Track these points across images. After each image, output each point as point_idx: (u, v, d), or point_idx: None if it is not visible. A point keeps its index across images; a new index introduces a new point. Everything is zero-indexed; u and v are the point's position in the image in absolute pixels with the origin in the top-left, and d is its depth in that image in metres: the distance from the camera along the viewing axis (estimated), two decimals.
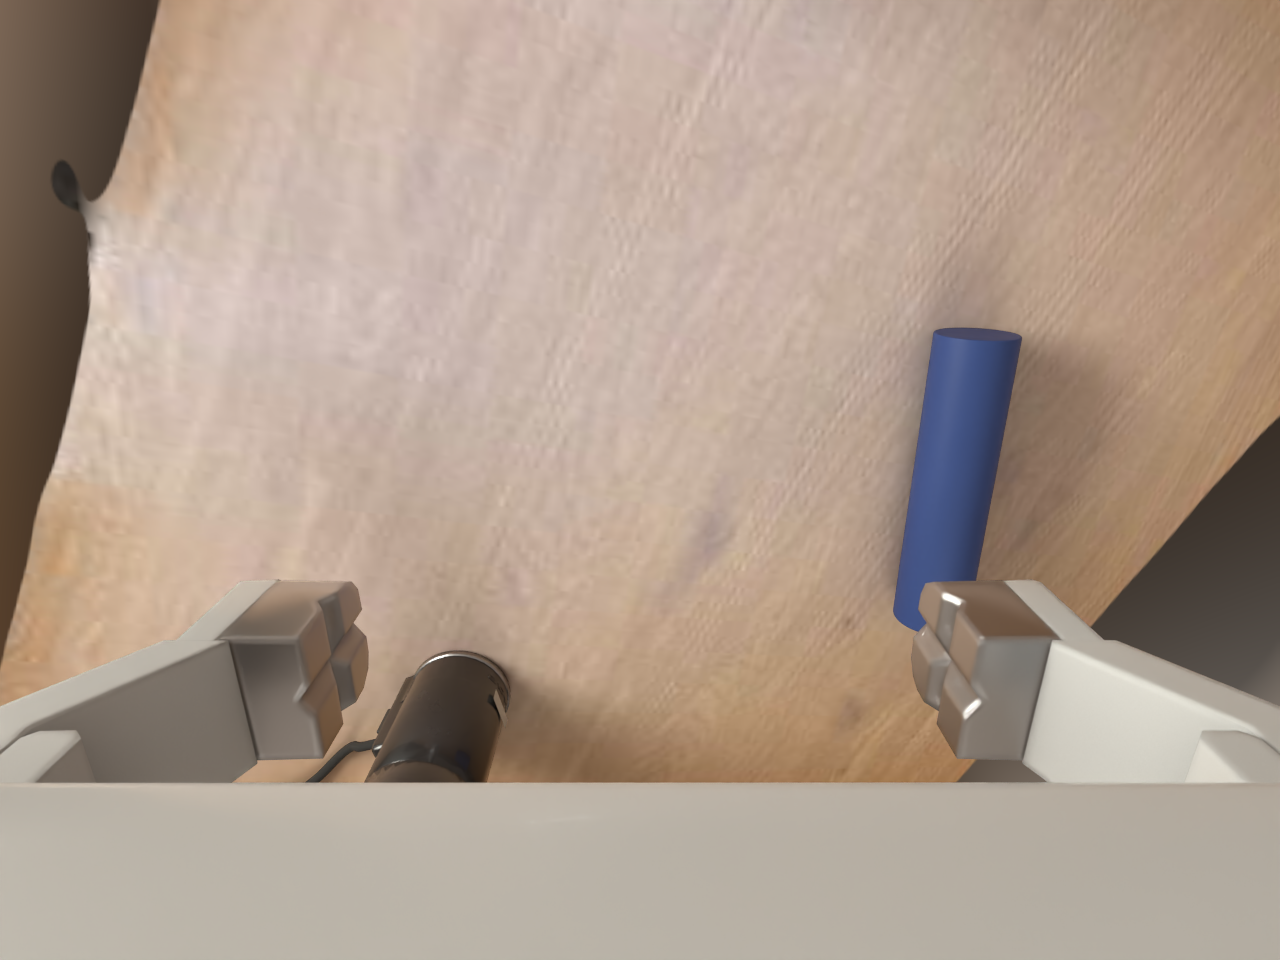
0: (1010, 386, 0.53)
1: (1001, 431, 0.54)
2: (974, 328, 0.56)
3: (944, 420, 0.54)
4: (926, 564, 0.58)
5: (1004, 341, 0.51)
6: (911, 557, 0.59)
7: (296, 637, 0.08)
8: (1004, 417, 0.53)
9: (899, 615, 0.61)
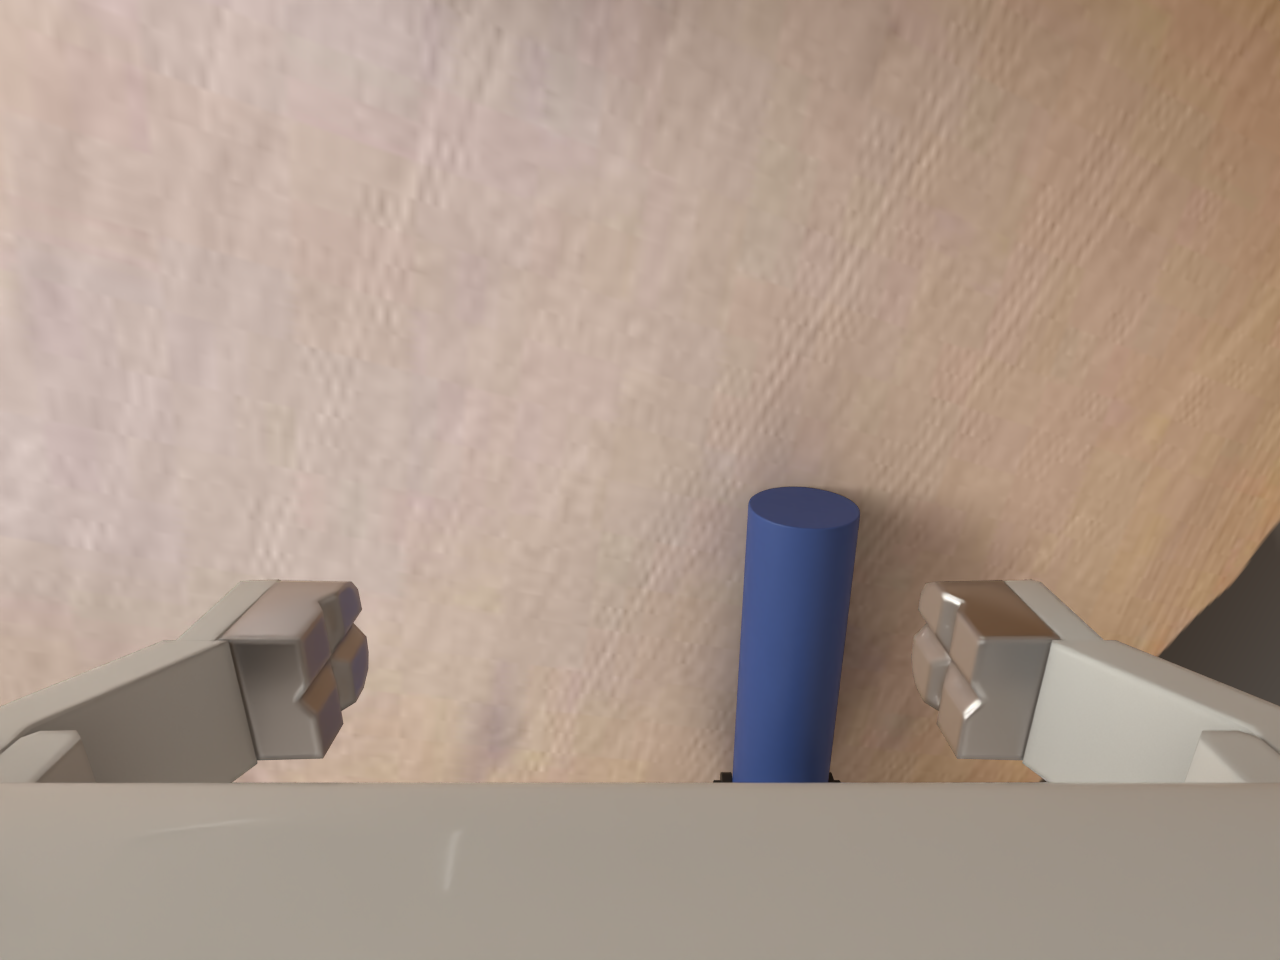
0: (845, 580, 0.39)
1: (838, 635, 0.40)
2: (810, 489, 0.42)
3: (761, 621, 0.40)
4: None
5: (828, 529, 0.37)
6: (739, 777, 0.45)
7: (295, 638, 0.08)
8: (841, 619, 0.40)
9: None
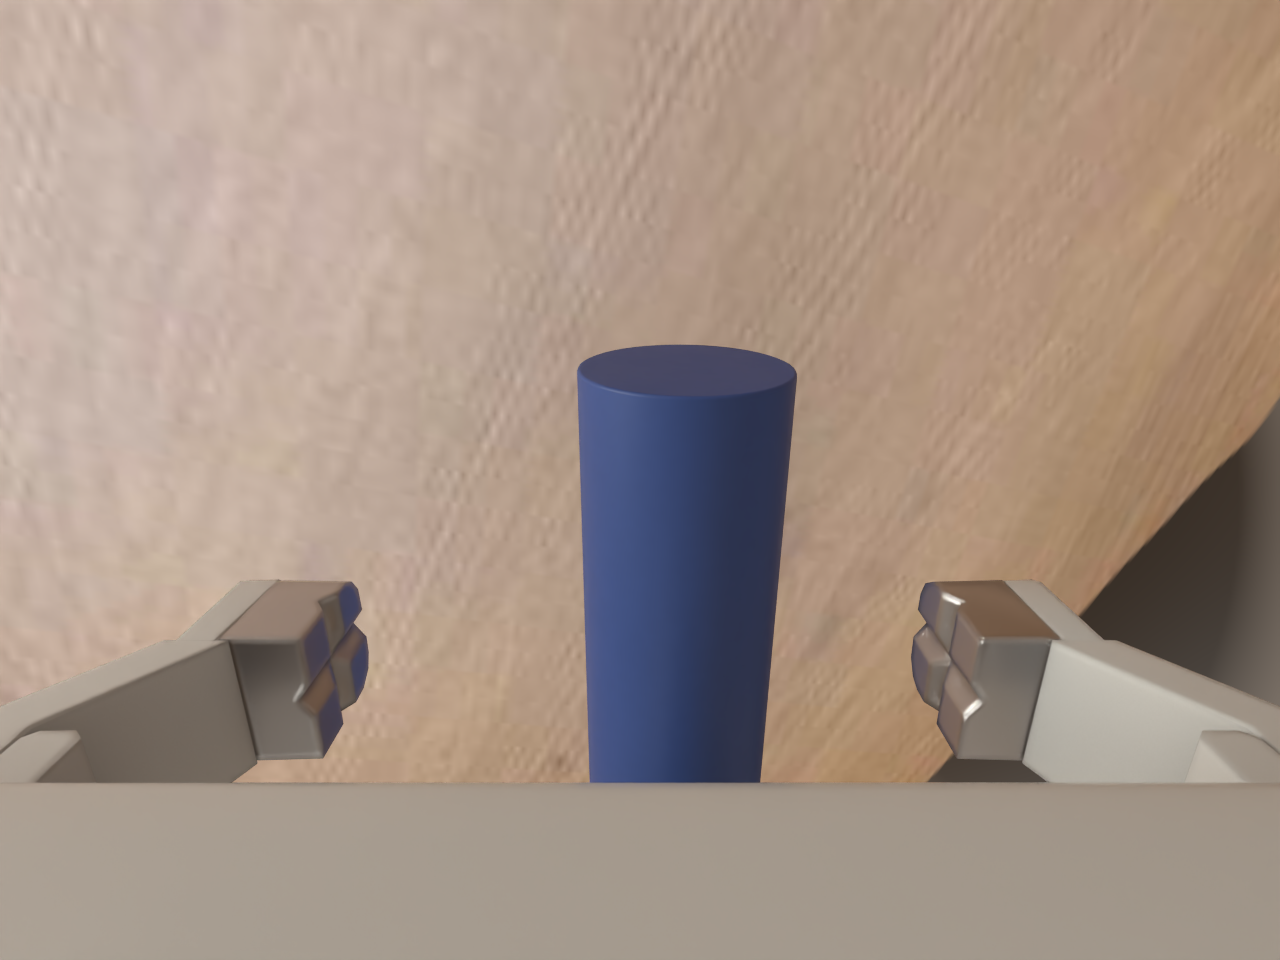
0: (765, 514, 0.19)
1: (755, 623, 0.20)
2: (710, 347, 0.22)
3: (604, 595, 0.20)
4: None
5: (722, 398, 0.17)
6: None
7: (296, 637, 0.08)
8: (760, 591, 0.20)
9: None
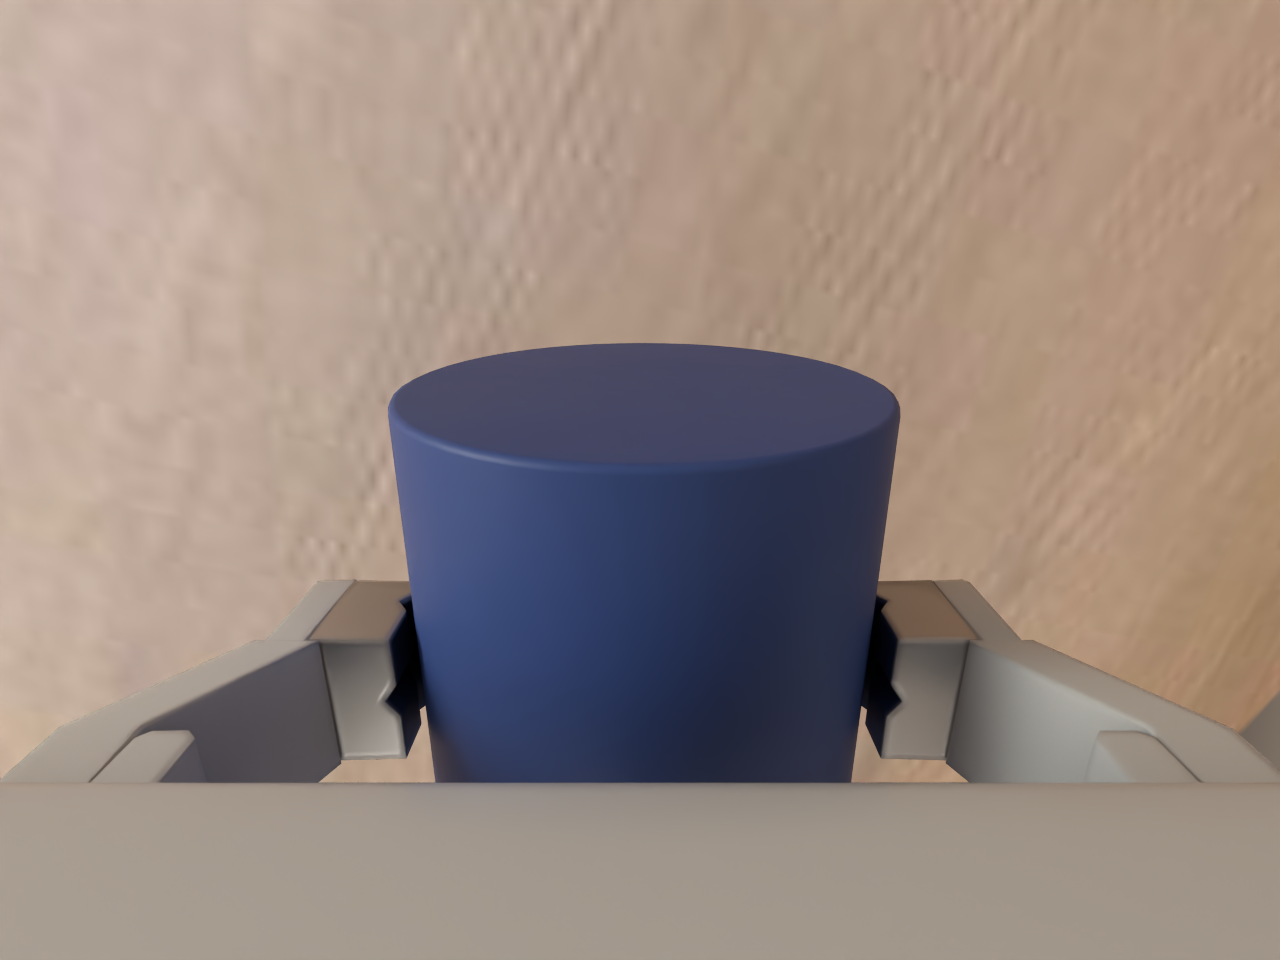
0: (830, 732, 0.08)
1: None
2: (701, 347, 0.11)
3: None
4: None
5: (723, 469, 0.06)
6: None
7: (385, 637, 0.08)
8: None
9: None
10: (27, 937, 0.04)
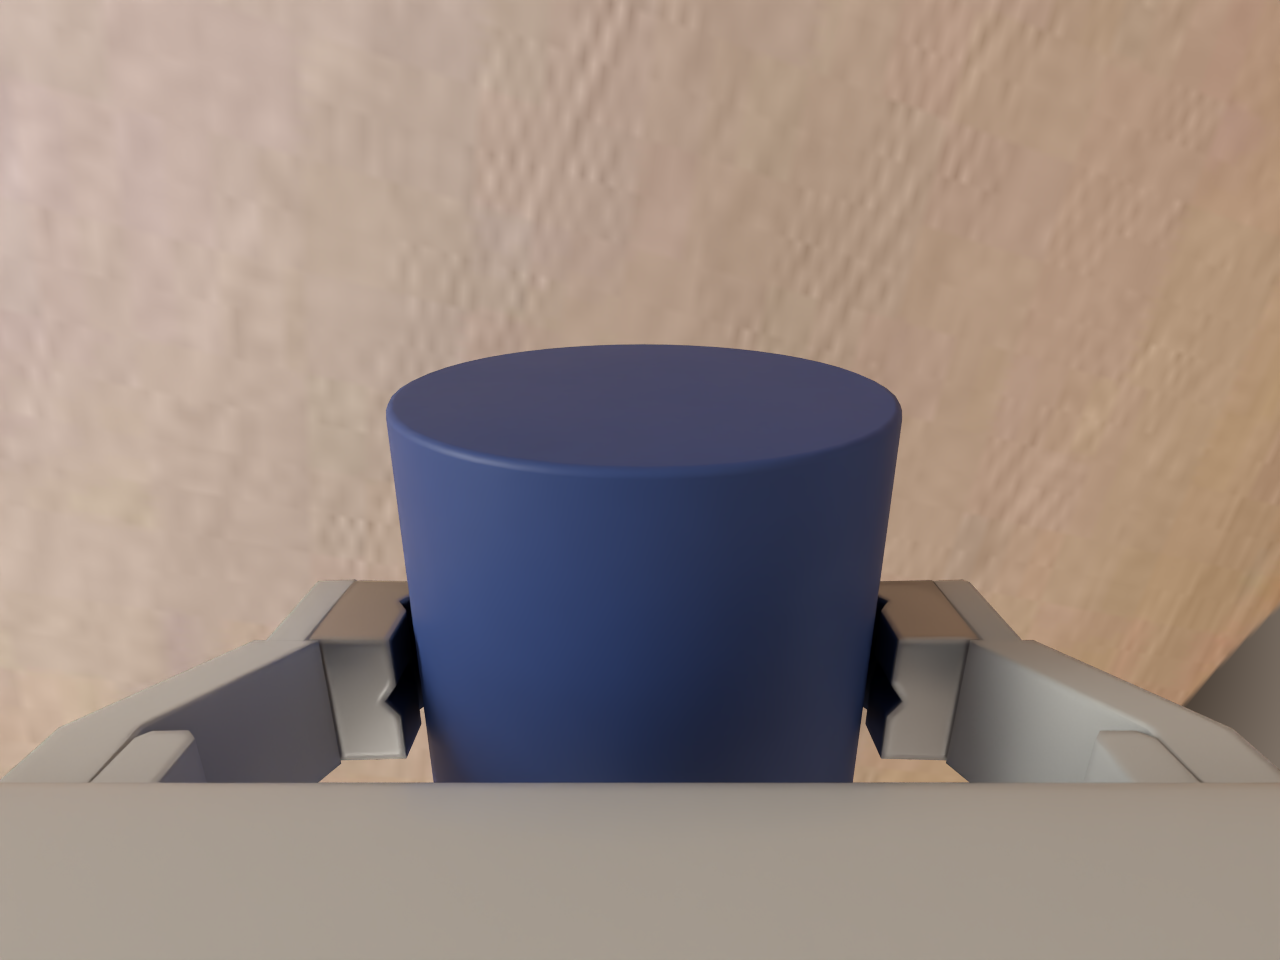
0: (831, 737, 0.08)
1: None
2: (701, 348, 0.11)
3: None
4: None
5: (724, 472, 0.06)
6: None
7: (385, 637, 0.08)
8: None
9: None
10: (27, 937, 0.04)
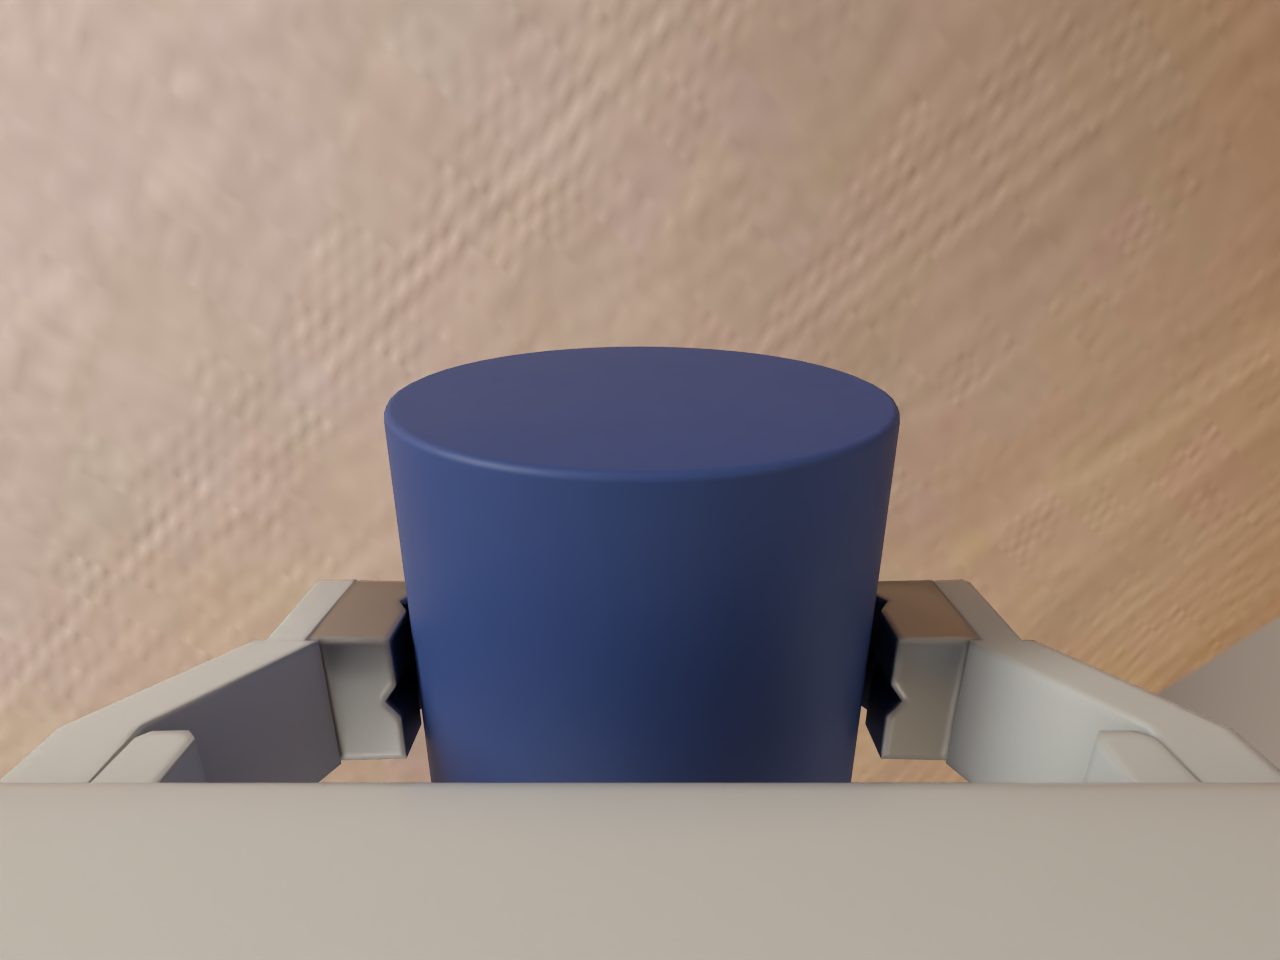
0: (828, 740, 0.08)
1: None
2: (700, 350, 0.11)
3: None
4: None
5: (721, 476, 0.06)
6: None
7: (385, 637, 0.08)
8: None
9: None
10: (27, 937, 0.04)
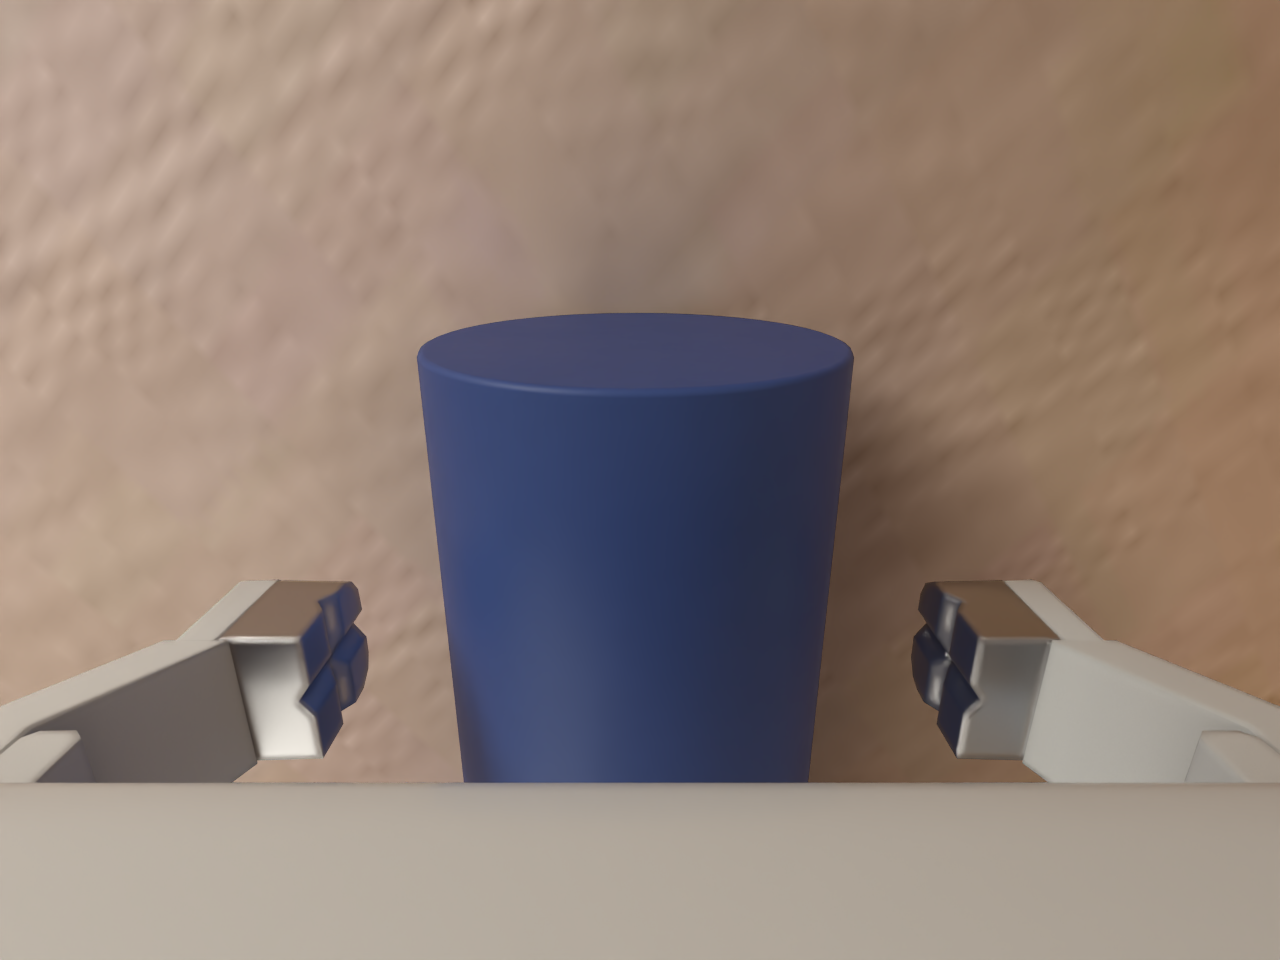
0: (793, 633, 0.09)
1: None
2: (689, 315, 0.13)
3: (480, 780, 0.11)
4: None
5: (697, 393, 0.08)
6: None
7: (295, 637, 0.08)
8: (780, 776, 0.10)
9: None
10: (27, 937, 0.04)
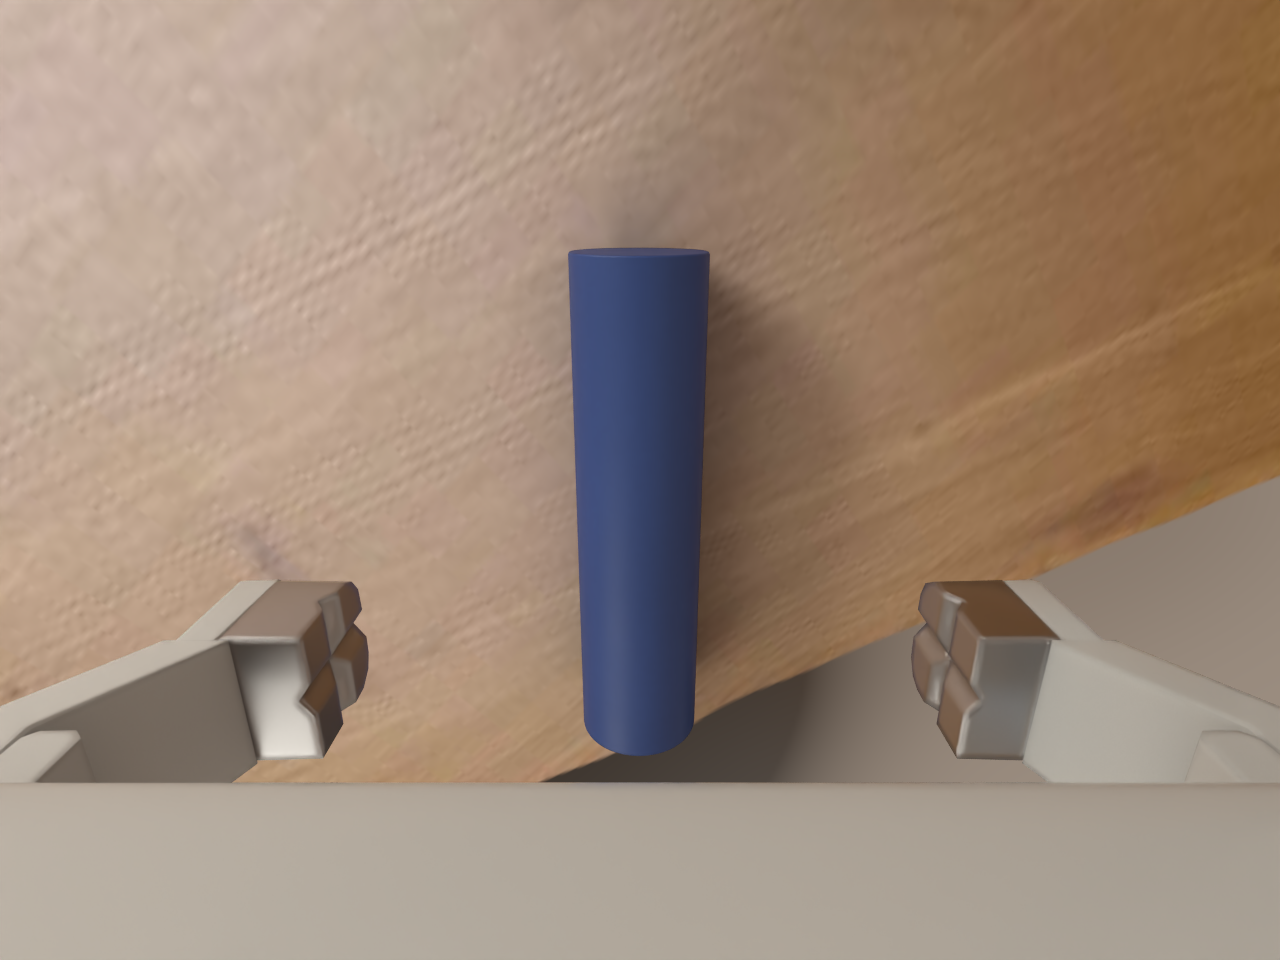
0: (689, 342, 0.30)
1: (686, 422, 0.31)
2: (659, 248, 0.33)
3: (586, 402, 0.31)
4: (597, 642, 0.35)
5: (655, 257, 0.28)
6: (583, 629, 0.36)
7: (296, 637, 0.08)
8: (687, 398, 0.31)
9: (584, 716, 0.39)
10: (27, 937, 0.04)
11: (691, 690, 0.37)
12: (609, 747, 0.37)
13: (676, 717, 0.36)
